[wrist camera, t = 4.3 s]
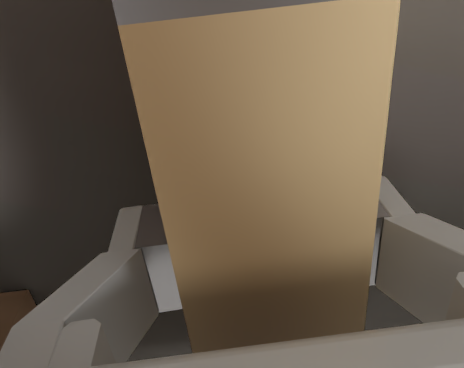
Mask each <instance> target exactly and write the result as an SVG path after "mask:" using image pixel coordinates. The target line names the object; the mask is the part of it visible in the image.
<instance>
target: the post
mask: <svg viewBox="0 0 464 368" xmlns="http://www.w3.org/2000/svg"><path fill="white" fill-rule="evenodd" d="M35 307H37V306H36V304H35V302H34V300H33V298H32V296H31V294H30V292H29V290H21V291H13V292H5V293H0V351H1V349H2V347H3V344H4V342H5V340H6V338H7V336H8V334H9V332H10V330H11V328H12V327H13V326H14V325H15V324H16V323H17V322H19V321H20V320H21V319H22V318H23V317H25V316H26V315H27V314H28V313H29V312H31V311H32V310H33V309H34V308H35Z"/></svg>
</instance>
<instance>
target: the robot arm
mask: <svg viewBox="0 0 464 368" xmlns="http://www.w3.org/2000/svg"><path fill="white" fill-rule="evenodd" d="M371 285H376V287H377V288H378V289H379V290H381V291H382V292H383V293H384V294H386V295H387V296H388V297H390V298H391V299H392V300H394V301H395V302H396V303H398V304H399V305H400V306H402V307H403V308H404V309H406V310H407V311H408V312H409V313H411V314H412V315H413V316H415V317H416V318H417V319H419V320H420V321H421V322H423V323H422V324H414V325H406V326H398V327H390V328H383V329H375V330H367V331H359V332H351V333H344V334H336V335H328V336H321V337H313V338H305V339H298V340H290V341H282V342H275V343H267V344H259V345H252V346H244V347H237V348H229V349H221V350H214V351H206V352H198V353H191V354H183V355H175V356H167V357H160V358H152V359H144V360H136V361H129V362H126V361H127V360H128V359H129V357H130V356H131V354H132V353H133V351H134V350H135V349H136V347H137V346H138V344H139V343H140V341H141V340H142V338H143V337H144V336H145V334H146V333H147V331H148V330H149V328H150V327H151V326H152V324H153V323H154V321H155V320H156V318H157V317H158V315H159V313H160V312H166V311H172V310H179V309H182V305H181V300H180V296H179V292H178V287H177V283H176V278H175V274H174V270H173V265H172V261H171V257H170V252H169V248H168V244H167V239H166V235H165V230H164V226H163V222H162V217H161V213H160V209H159V204H149V205H144V206H143V205H139V206H131V207H124V208H122V209H120V211H119V213H118V217H117V220H116V224H115V227H114V231H113V234H112V238H111V241H110V245H109V249H108V252H106V253H101V254H99V255H98V256H97V257H96V258H95V259H93V260H92V261H91V262H90V263H88V264H87V265H86V266H85V267H84V268H82V269H81V270H80V271H79V272H78V273H76V274H75V275H74V276H73V277H72V278H70V279H69V280H68V281H67V282H66V283H64V284H63V285H62V286H61V287H60V288H58V289H57V290H56V291H55V292H54V293H52V294H51V295H50V296H49V297H48V298H46V299H45V300H44V301H43V302H42V303H40V304H39V305H38V306H37V307H35V308H34V309H33V310H32V311H31V312H29V313H28V314H27V315H26V316H25V317H23V318H22V319H21V320H20V321H19V322H17V323H16V324H15V325H14V326H13V327H12V328H11V330H10V332H9V334H8V336H7V338H6V340H5V342H4V344H3V347H2V349H1V351H0V368H464V230H463V229H461V228H458V227H456V226H453V225H451V224H448V223H446V222H444V221H441V220H439V219H436V218H434V217H431V216H429V215H426V214H424V213H418V214H416V213H415V212H414V211H413V209H412V208H411V207H410V206H409V205H408V203H407V202H406V201H405V200H404V198H403V197H402V196H401V195H400V194H399V192H398V191H397V190H396V189H395V188H394V186H393V185H392V184H391V183H390V181H389V180H388V179H387V178H386V177H385V176H382V175H381V184H380V193H379V203H378V212H377V221H376V230H375V239H374V248H373V257H372V266H371V275H370V284H369V286H371Z"/></svg>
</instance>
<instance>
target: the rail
mask: <svg viewBox="0 0 464 368" xmlns="http://www.w3.org/2000/svg"><path fill="white" fill-rule="evenodd" d="M400 2H401V0H112V4H113V8H114V12H115V17H116V21H117V25H118V30H119V34H120V39H121V43H122V47H123V52H124V56H125V60H126V65H127V69H128V73H129V78H130V82H131V87H132V91H133V95H134V100H135V104H136V108H137V113H138V117H139V121H140V126H141V130H142V135H143V139H144V143H145V148H146V152H147V156H148V161H149V165H150V169H151V174H152V178H153V182H154V187H155V191H156V196H157V200H158V204H159V209H160V213H161V217H162V222H163V226H164V230H165V235H166V239H167V244H168V248H169V252H170V257H171V261H172V265H173V270H174V274H175V278H176V283H177V287H178V292H179V296H180V300H181V305H182V309H183V313H184V318H185V322H186V326H187V331H188V335H189V339H190V344H191V348H192V353H198V352H206V351H214V350H221V349H229V348H237V347H244V346H252V345H259V344H267V343H275V342H282V341H290V340H298V339H305V338H313V337H321V336H328V335H336V334H344V333H351V332H359V331H364V330H365V321H366V312H367V303H368V293H369V284H370V275H371V266H372V257H373V248H374V239H375V230H376V221H377V212H378V203H379V193H380V184H381V175H382V166H383V157H384V148H385V139H386V130H387V121H388V112H389V102H390V93H391V84H392V75H393V66H394V57H395V48H396V39H397V30H398V21H399V12H400Z"/></svg>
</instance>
